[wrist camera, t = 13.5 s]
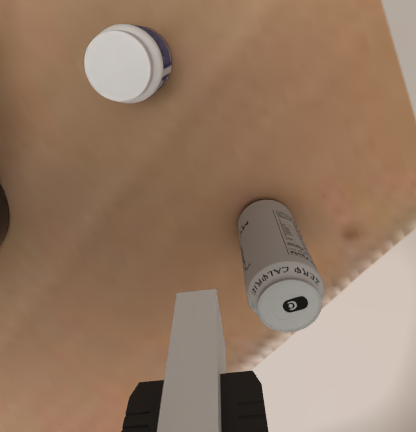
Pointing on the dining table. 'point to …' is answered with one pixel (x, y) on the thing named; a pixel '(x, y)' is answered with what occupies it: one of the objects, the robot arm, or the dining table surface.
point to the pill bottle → (127, 63)
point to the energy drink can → (278, 268)
